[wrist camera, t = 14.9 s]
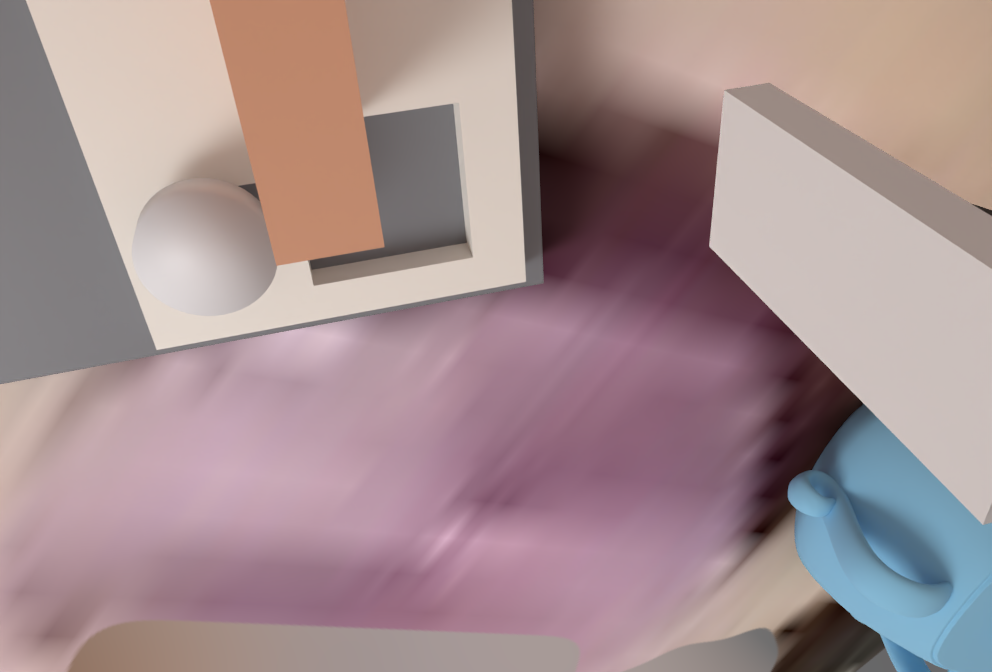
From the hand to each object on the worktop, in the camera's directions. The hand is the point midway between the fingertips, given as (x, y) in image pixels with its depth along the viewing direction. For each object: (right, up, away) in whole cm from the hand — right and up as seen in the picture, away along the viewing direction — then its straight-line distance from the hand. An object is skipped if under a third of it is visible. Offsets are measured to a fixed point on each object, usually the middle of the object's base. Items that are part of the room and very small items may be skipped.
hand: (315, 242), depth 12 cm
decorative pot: (+26, -8, +38) cm, 47 cm away
